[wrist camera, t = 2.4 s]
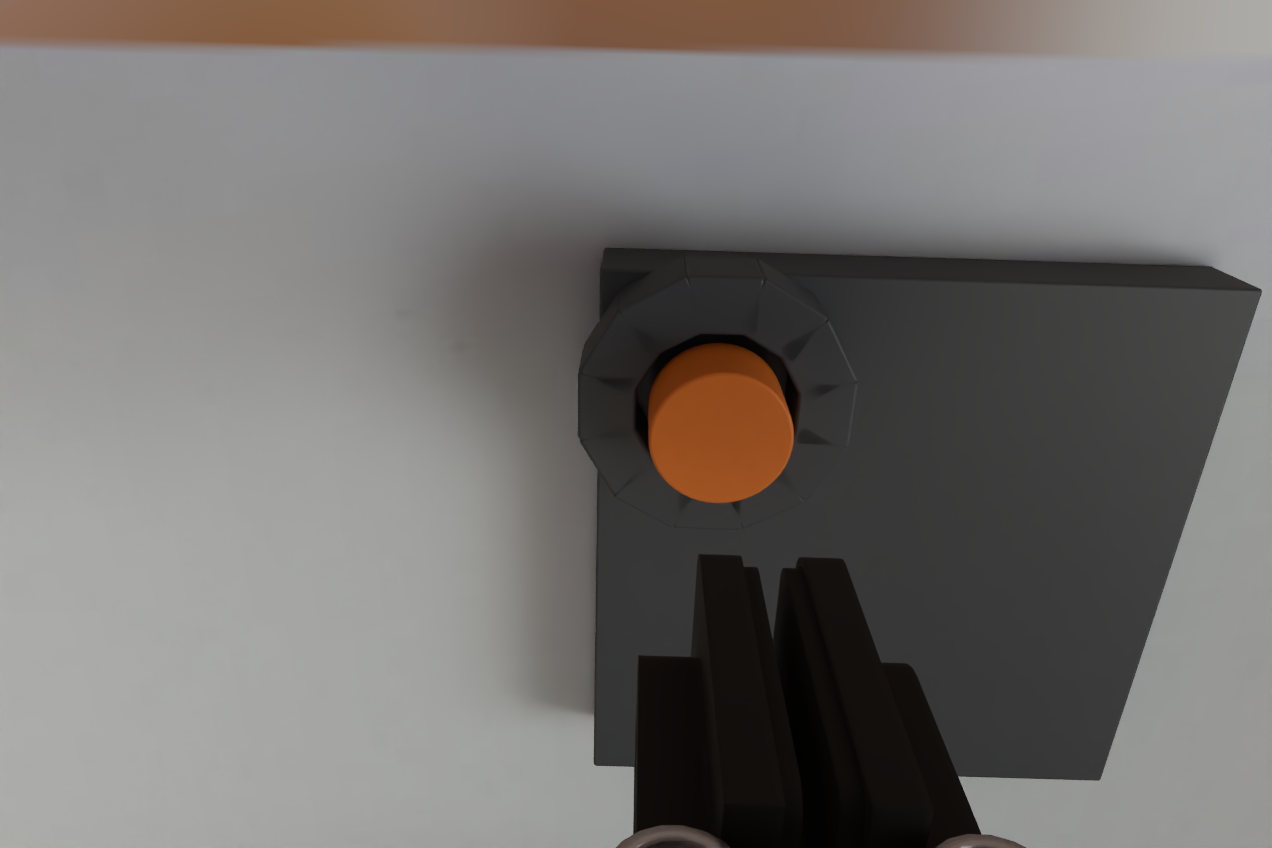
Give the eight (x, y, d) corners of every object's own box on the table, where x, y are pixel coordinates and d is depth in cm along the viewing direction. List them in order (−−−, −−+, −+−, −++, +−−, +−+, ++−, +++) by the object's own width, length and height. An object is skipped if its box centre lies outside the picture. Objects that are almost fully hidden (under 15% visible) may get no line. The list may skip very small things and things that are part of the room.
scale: (588, 231, 20) (578, 272, 17) (1217, 251, 21) (1321, 295, 17) (585, 716, 26) (576, 813, 23) (1071, 731, 27) (1128, 829, 23)
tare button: (650, 339, 18) (651, 371, 17) (788, 343, 18) (802, 375, 17) (645, 462, 19) (646, 502, 18) (775, 466, 19) (786, 507, 18)
